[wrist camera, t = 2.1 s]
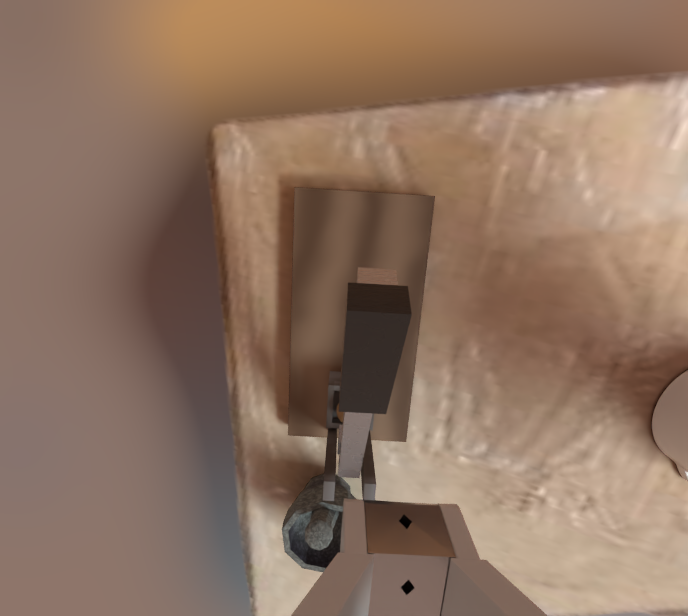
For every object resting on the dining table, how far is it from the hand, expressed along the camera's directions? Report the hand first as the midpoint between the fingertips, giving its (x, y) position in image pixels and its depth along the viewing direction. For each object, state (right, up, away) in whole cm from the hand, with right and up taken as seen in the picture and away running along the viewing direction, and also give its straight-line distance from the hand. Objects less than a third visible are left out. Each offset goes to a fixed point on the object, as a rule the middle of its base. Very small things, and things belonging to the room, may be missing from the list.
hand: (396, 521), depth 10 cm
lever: (0, 0, +19) cm, 19 cm away
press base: (0, +4, +33) cm, 33 cm away
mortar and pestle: (-4, -18, +39) cm, 43 cm away
